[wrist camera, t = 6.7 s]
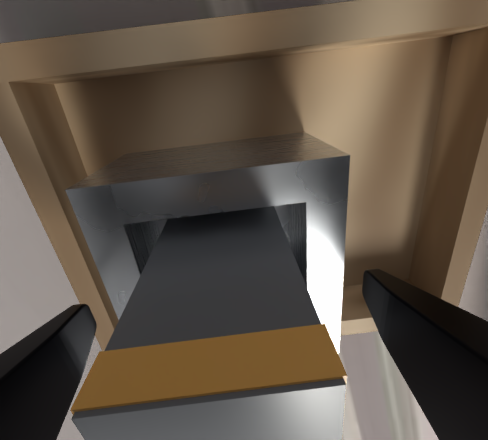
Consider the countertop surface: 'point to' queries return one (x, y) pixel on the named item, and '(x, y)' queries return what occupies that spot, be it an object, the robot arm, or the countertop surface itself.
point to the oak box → (274, 123)
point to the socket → (221, 206)
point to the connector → (217, 343)
